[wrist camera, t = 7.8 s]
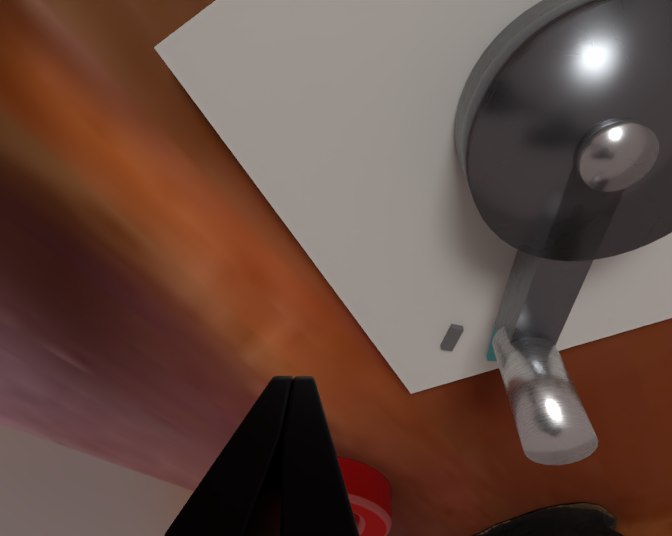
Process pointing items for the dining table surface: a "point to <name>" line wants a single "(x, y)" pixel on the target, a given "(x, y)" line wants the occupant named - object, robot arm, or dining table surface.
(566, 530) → the pine cone
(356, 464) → the decorative ornament
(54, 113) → the dining table surface
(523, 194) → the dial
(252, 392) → the dining table surface
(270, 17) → the stand board
